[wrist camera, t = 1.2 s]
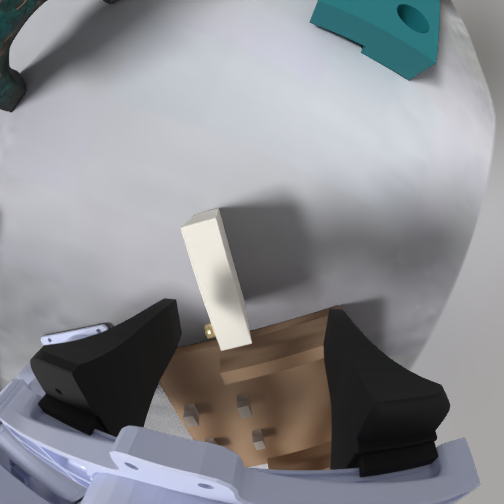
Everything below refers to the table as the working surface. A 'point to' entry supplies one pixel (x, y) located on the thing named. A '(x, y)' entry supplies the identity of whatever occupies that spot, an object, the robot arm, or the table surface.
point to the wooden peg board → (259, 395)
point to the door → (217, 279)
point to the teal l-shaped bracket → (386, 30)
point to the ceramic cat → (3, 33)
